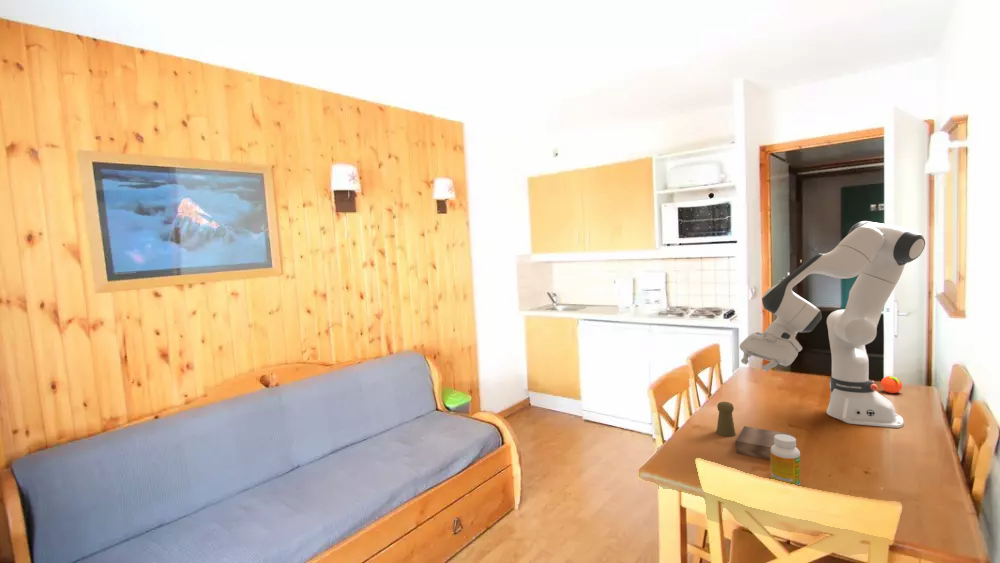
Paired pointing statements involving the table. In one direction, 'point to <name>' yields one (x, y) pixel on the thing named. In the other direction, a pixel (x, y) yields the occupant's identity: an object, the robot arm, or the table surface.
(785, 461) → the supplement bottle
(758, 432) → the walnut plinth
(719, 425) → the olive pawn
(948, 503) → the table surface
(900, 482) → the table surface
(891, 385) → the clementine
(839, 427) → the table surface
